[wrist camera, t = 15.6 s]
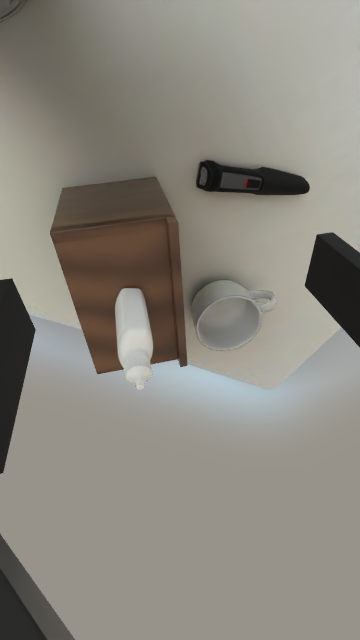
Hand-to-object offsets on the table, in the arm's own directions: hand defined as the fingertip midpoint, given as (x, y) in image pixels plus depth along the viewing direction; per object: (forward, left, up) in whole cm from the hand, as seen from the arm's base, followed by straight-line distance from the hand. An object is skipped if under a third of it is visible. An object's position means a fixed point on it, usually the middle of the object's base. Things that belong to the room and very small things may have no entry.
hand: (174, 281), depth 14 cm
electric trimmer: (+6, +16, -33) cm, 37 cm away
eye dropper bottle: (+14, -3, -19) cm, 24 cm away
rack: (+14, -3, -32) cm, 36 cm away
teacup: (+25, +13, -33) cm, 43 cm away
